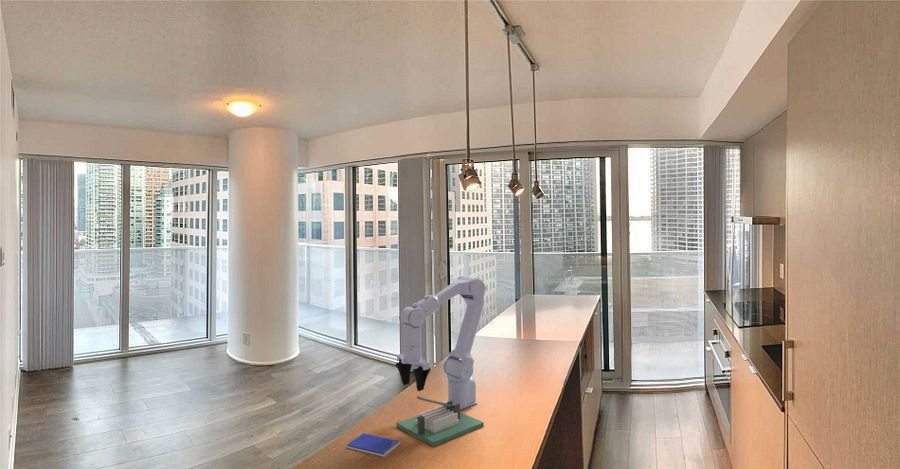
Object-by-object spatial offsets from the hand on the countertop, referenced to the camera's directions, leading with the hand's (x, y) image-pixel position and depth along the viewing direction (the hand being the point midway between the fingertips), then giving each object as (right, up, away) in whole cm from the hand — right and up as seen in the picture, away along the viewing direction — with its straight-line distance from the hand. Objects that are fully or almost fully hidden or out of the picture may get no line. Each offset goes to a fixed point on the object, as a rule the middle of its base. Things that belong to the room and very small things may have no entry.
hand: (413, 387), depth 153 cm
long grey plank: (+8, -3, -7) cm, 11 cm away
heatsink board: (+9, -10, -6) cm, 15 cm away
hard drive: (-10, -12, -18) cm, 24 cm away
